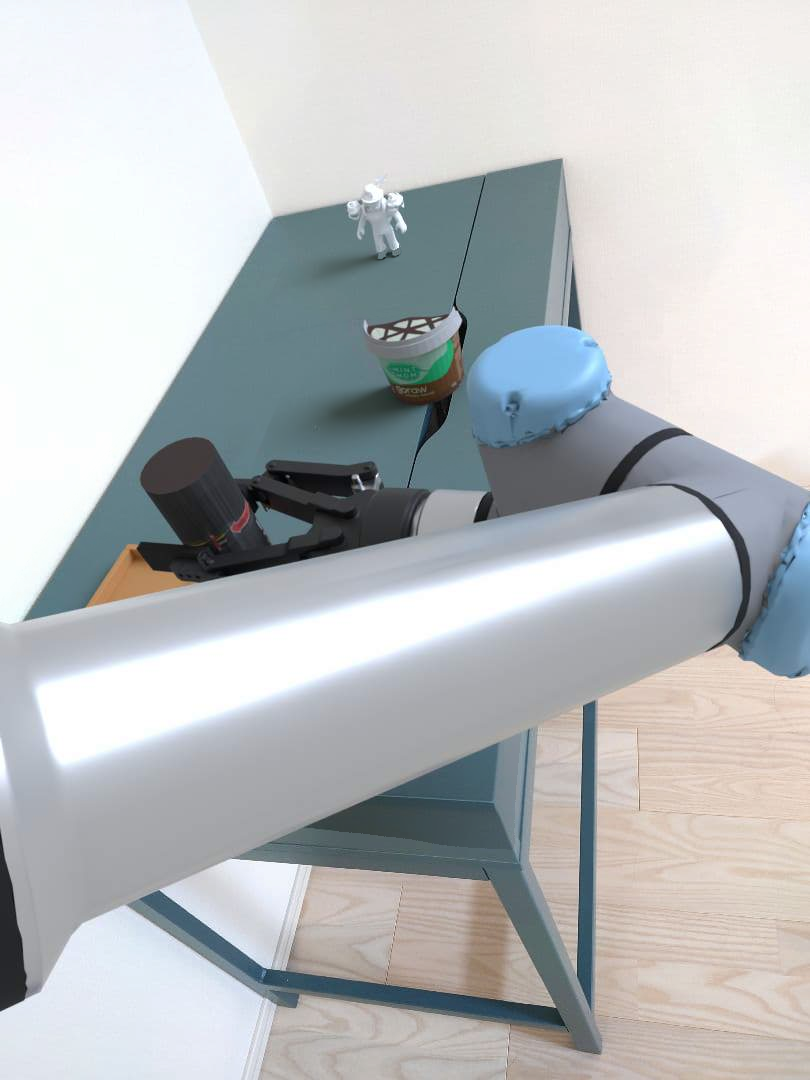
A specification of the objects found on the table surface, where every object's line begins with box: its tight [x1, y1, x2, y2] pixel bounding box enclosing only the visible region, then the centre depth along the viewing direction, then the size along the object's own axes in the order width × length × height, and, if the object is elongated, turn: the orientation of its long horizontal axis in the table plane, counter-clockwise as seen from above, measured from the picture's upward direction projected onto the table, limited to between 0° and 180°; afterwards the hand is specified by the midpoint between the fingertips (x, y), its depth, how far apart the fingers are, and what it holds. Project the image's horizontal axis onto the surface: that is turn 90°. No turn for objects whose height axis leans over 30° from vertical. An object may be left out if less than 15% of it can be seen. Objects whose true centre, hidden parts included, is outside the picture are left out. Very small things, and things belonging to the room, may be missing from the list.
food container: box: [362, 305, 465, 406], centre depth 98 cm, size 12×6×10 cm, turn 80°
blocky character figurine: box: [346, 174, 408, 253], centre depth 124 cm, size 9×4×12 cm, turn 81°
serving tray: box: [85, 543, 198, 608], centre depth 89 cm, size 13×13×2 cm
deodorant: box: [139, 436, 274, 555], centre depth 64 cm, size 6×6×15 cm
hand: (167, 525), depth 66 cm, fingers closed on deodorant, 6 cm apart
